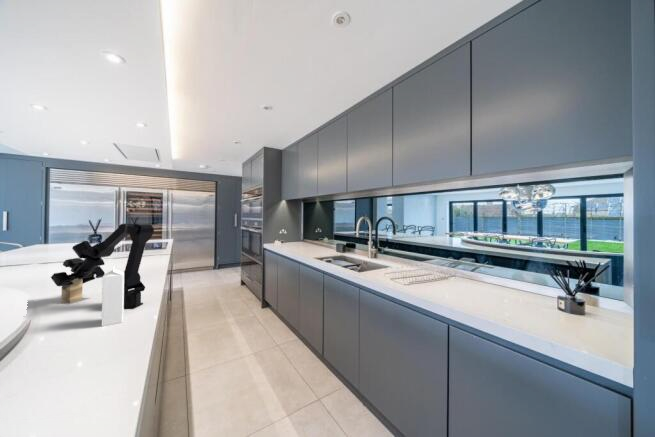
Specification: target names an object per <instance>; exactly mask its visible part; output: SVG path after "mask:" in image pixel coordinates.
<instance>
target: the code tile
mask: <svg viewBox="0 0 655 437" xmlns="http://www.w3.org/2000/svg"><path fill="white" fill-rule="evenodd" d="M90 299H91V298H90V297H82V299H81V300H78V301H74V302H70V303H68V302H61V300H59V301H55V302H53V304H58V305H67V306H68V305H72V304H76V303H80V302H84V301H86V300H90Z"/></svg>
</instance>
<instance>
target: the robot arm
mask: <svg viewBox="0 0 655 437" xmlns="http://www.w3.org/2000/svg"><path fill="white" fill-rule="evenodd" d="M154 232H155V228H154V227H153V225H152V224H151V223H136V224H135V223H130V222H129V223H121V224H119V225H118V227H116V229H115V230H114V231H113V232H112V233H111V234H109V236H108V237H106V238H105V239H104V240H103V241H101V242H98V243H96V244H94V245H93V246H92V245H91V244H90V242H89V241H88V240H82V242H79V243H77V244H75V245H73V246H72V250H73V252H74V253H75V254H76V256H78V257H76V258H75V257H74V258H69V259H65V260H64V261H63V263H62V265H63V267H65V268H70V271H71V273H70V274H71V275H70V274H68V273H67V272H65V271H61V272H55V273H53V274H52V275H51V276H50V278H51V280H52V281H53V282H54V284H55V285H56V287H61V289H62V288H63V289H65V288H67V287H69V286H70V285H72V284H74V283H73V282H72V281H73V280H74V279H83V283H82V285H84V284H85V283H88V282H91V281H93V280H95V279H100V278H103V276H104V275H105V274H106V273H105V271H104V270H103V268H102V267H101V266H104V265H105V261H104V259H103V258H107V257H111V255H112V254H113V252H115V247H116V246H117V245H118V244H119V243H120V242H122V241H123V240H124V239H125V238H126V237H128V235H129V237H130V239H131V242H132V243H131V245H130V249H129V250H130V251H129V254H128V257H127V260H126V264H125V267H124V268H125V269H124V271H123V272H124V309H125V310H127V309H128V310H130V309H136V308H137V307H140V306H142V305H143V304H144V302H142V292H144V291H145V289H146V286H145V285H144V283H143V282H142V281H141V275H140V273H139V270H140V266H141V262H142V259H143V254H144V251H145V247H146V244H147V243H148V242H149V240H150V239H152V237H153V234H154Z"/></svg>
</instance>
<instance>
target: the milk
mask: <svg viewBox="0 0 655 437" xmlns="http://www.w3.org/2000/svg"><path fill="white" fill-rule="evenodd" d="M101 278H102V280H101V281H102V282H101V283H102V288H101V289H102V290H101V327H106V326H112V325H116V324H122V323H123V320H124V313H125V312H124V311H125V310H124V271H121V270H120V269H116V265H113V267H112V270H110V271H108V272H107V273H105V274H104V276H103V277H101Z"/></svg>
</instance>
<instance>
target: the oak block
mask: <svg viewBox="0 0 655 437" xmlns="http://www.w3.org/2000/svg"><path fill="white" fill-rule="evenodd" d="M69 275H71V273H70V274H69ZM72 282H73V283H74V284H72V285H70V286H69V287H67V288H65V289H63V288H62V287H61V296H60V297H61V300H60V301H61V302H68V303H70V302H74V301H78V300H81V299H82V298H83V284H84V283H83V279H74V280H73V281H72ZM82 283H83V284H82Z"/></svg>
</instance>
